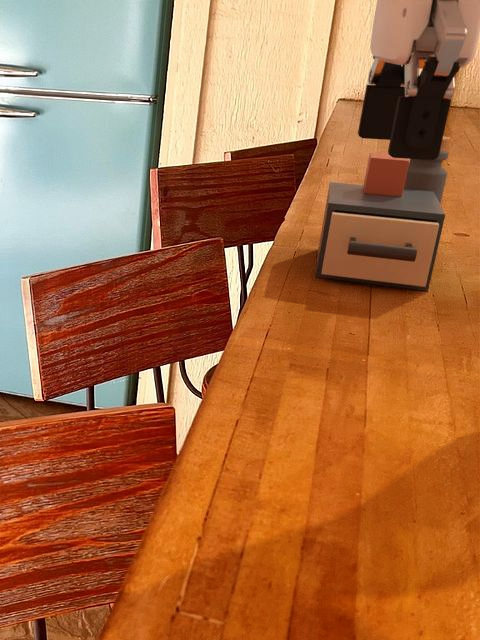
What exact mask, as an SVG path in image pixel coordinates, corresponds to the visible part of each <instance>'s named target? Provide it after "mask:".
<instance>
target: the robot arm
mask: <svg viewBox="0 0 480 640" xmlns="http://www.w3.org/2000/svg"><path fill="white" fill-rule="evenodd" d="M479 39H480V0H377V1H376V7H375V11H374V16H373V23H372V31H371V39H370V52H371V54H372V60H373V62H372V64H371V67H370V70H369V71H368V77H367V78H368V79H367V84H366V85H365V92H364V97H363V103H362V108H361V113H360V119H359V125H358V130H357V135H358V137H359V138H361V139H366V140H385V141H386V140H387V141H388V140H389V142H388V143H389V145H388V147H387V154H389V155H390V156H391V157H393V158H405V159H409V160H410V159H422V160H435V159H436V158H437V157H438V156H439V153H440V148H441V144H442V139H443V136H444V134H445V130H446V124H447V121H448V115H449V111H450V106H451V103H452V98H453V95H454V93H455V86H456V85H455V76H456V74H457V73H459V71H460V69H462V68H464V67H467V66H468V65H469V64H470V63H471V62H472V61H474V59H475V57H476V53H477V48H478V45H479ZM420 69H421V71H420Z"/></svg>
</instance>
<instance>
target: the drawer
mask: <svg viewBox="0 0 480 640" xmlns="http://www.w3.org/2000/svg"><path fill="white" fill-rule="evenodd" d="M438 229H439V224H438V223H436V222H430V220H427V219H417V218H407V217H397V216H387V215H377V214H367V213H357V212H347V211H337V210H336V212H332V217H331V222H330V228H329V234H328V239H327V245H326V251H325V256H324V262H323V267H322V274H324V275H332V276H340V277H348V278H356V279H365V280H373V281H381V282H389V283H397V284H406V285H414V286H422V287H425V286H426V282H427V278H428V273H429V269H430V264H431V260H432V255H433V251H434V246H435V242H436V238H437V233H438Z"/></svg>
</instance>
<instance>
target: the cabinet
mask: <svg viewBox="0 0 480 640" xmlns="http://www.w3.org/2000/svg"><path fill="white" fill-rule="evenodd" d="M328 184H329V185H328V191H327V196H326V201H325V208H324V214H323V218H322V225H321V231H320V235H319V242H318V246H317V247H318V248H317V257H316V258H317V259H316V265H315V266H316V268H315V278H318V279H319V278H320V279H327V280H333V281H334V280H335V281H342V282H352V283H360V284H366V285H367V284H368V285H376V286H382V287H384V286H385V287H393V288H400V289H408V290H417V291H423V292H428V291H429V289H430V284H431V280H432V276H433V272H434V267H435V262H436V258H437V254H438V250H439V245H440V241H441V236H442V232H443V227H444V223H445V219H446V213H445V210H444V209H443V206H442V204H441V205H440V203H439V201H438V199H437V197H436V195H435V193H434V192H431V191H420V190H409V189H403V194H402V197H399V196H388V195H377V194H367V193H364V189H363V186H364V184H355V183H354V184H352V183H343V182H332V181H330V182H329V183H328ZM336 210H337V211H347V212H357V213H367V214H377V215H387V216H397V217H407V218H417V219H427V220H430V222H436V223H438V224H439V229H438V233H437V238H436V242H435V246H434V251H433V255H432V260H431V264H430V269H429V273H428V278H427V282H426V286H425V287H422V286H414V285H406V284H397V283H389V282H381V281H373V280H365V279H356V278H348V277H340V276H332V275H324V274H322V267H323V262H324V256H325V251H326V245H327V239H328V234H329V228H330V222H331V217H332V212H336Z"/></svg>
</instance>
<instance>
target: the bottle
mask: <svg viewBox="0 0 480 640" xmlns="http://www.w3.org/2000/svg"><path fill="white" fill-rule="evenodd" d="M450 141H451V137H449V136H445V135H443V139H442V144H441V148H440V153H439V156H438V157H437V158H436V159H435V160H422V159H409V165H408V170H407V175H406V180H405V185H404V189H409V190H420V191H431V192H434V193H435V195H436V197H437V199H438V201H439V203H440V205H441V206H442V201H443V200H442V199H443V195H444V190H445V187H446V182H447V177H448V171H447V170H446V169H445V168H444V167H443V166H442V164H443V161H446V160H448V159H449V155H450V152H449V151H448V150H447V148H448V146H449V144H450Z"/></svg>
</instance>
